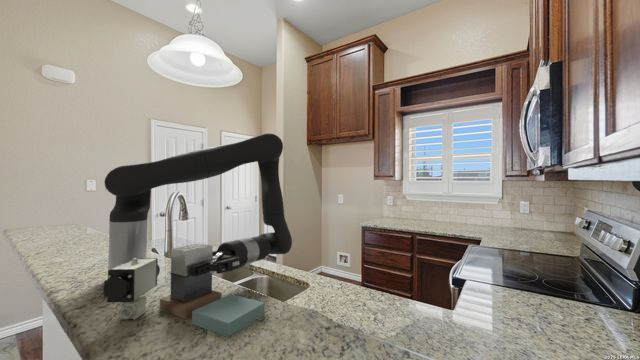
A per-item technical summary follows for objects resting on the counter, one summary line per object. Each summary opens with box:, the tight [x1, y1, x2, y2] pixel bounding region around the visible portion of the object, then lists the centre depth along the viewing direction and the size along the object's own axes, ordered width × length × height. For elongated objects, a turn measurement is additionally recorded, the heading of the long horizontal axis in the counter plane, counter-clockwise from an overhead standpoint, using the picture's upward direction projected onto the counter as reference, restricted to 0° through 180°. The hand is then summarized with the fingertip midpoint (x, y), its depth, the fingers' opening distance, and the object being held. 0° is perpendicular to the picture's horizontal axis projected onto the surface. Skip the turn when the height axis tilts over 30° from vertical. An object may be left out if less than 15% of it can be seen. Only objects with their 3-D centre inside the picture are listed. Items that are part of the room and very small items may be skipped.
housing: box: [169, 242, 213, 303], centre depth 62 cm, size 5×7×11 cm
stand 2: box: [191, 293, 266, 338], centre depth 56 cm, size 10×10×2 cm
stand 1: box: [159, 289, 222, 321], centre depth 61 cm, size 9×9×2 cm
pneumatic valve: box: [102, 257, 161, 321], centre depth 57 cm, size 6×12×12 cm, turn 3°
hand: (182, 269), depth 60 cm, fingers open, 6 cm apart
